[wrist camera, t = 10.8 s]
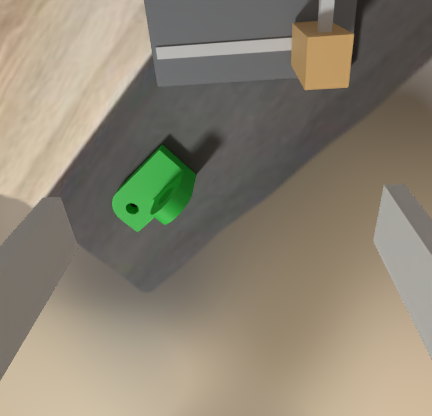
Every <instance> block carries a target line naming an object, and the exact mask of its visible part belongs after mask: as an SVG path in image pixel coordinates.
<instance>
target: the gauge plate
mask: <svg viewBox="0 0 432 416" xmlns="http://www.w3.org/2000/svg"><path fill="white" fill-rule="evenodd" d="M144 3H145V10H146V16H147V22H148V29H149V35H150V42H151V48H152V54H153V61H154V67H155V73H156V80H157V86H158V87H161V86H177V85H193V84H208V83H224V82H240V81H256V80H271V79H287V78H298V77H297V75H296V73H295V71H294V69H293V68H292V66H291V50H292V23H297V22H310V21H318V13H319V0H144ZM356 8H357V0H335V2H334V14H333V23H334V24H336V25H338V26H340V27H342V28H344V29H346V30H348V31H349V32H351V33H353V34H354V26H355V17H356Z"/></svg>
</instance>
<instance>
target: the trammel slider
mask: <svg viewBox="0 0 432 416" xmlns="http://www.w3.org/2000/svg"><path fill="white" fill-rule="evenodd" d="M334 2H335V0H319V13H318V21H310V22H297V23H292V50H291V66H292V68H293V69H294V71H295V73H296V75H297V77H298V78H299V80H300V82H301V84H302V86H303V88H304V89H305V90H313V89H330V88H346V87H348V85H349V76H350V67H351V58H352V49H353V41H354V34H353V33H351V32H349V31H348V30H346V29H344V28H342V27H340V26H338V25H336V24H334V23H333V14H334Z"/></svg>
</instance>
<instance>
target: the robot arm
mask: <svg viewBox="0 0 432 416" xmlns="http://www.w3.org/2000/svg"><path fill="white" fill-rule="evenodd" d="M373 242H374V244H375V246H376V248H377V250H378V252H379V254H380V256H381V258H382V260H383V262H384V264H385V266H386V268H387V270H388V272H389V274H390V276H391V278H392V280H393V282H394V284H395V286H396V288H397V290H398V292H399V294H400V296H401V298H402V301H403V302H404V304H405V307H406V309H407V311H408V313H409V315H410V317H411V319H412V321H413V323H414V325H415V327H416V329H417V331H418V333H419V335H420V337H421V339H422V341H423V343H424V345H425V347H426V349H427V351H428V353H429V355H430V357H431V359H432V219H431V218H430V216H429V215H428V214H427V212H426V211H425V210H424V209H423V207H422V206H421V205H420V204H419V202H418V201H417V200H416V198H415V197H414V196H413V195H412V193H411V192H410V191H409V189H408V188H407V187H406V186H405V184H396V185H384V189H383V194H382V198H381V204H380V209H379V215H378V219H377V224H376V230H375V235H374V241H373ZM77 250H78V246H77V243H76V240H75V237H74V234H73V232H72V229H71V226H70V223H69V220H68V217H67V214H66V212H65V209H64V206H63V203H62V200H61V197H48V198H42V199H41V201H40V202H39V203H38V204H37V205H36V206H35V207H34V208H33V210H32V211H31V212H30V213H29V214H28V215H27V217H26V218H25V219H24V220H23V221H22V222H21V223H20V224H19V225H18V227H17V228H16V229H15V230H14V231H13V233H11V235H10V236H9V237H8V238H7V239H6V240H5V242H3V244H2V245H1V246H0V380H1V379H2V377H3V375H4V374H5V372H6V370H7V369H8V367H9V365H10V363H11V362H12V360H13V358H14V357H15V355H16V353H17V352H18V350H19V348H20V347H21V345H22V343H23V341H24V340H25V338H26V336H27V335H28V333H29V331H30V330H31V328H32V326H33V324H34V323H35V321H36V319H37V318H38V316H39V314H40V313H41V311H42V309H43V308H44V306H45V304H46V303H47V301H48V299H49V297H50V296H51V294H52V292H53V291H54V289H55V287H56V286H57V284H58V282H59V280H60V279H61V277H62V275H63V274H64V272H65V270H66V269H67V267H68V265H69V264H70V262H71V260H72V258H73V257H74V255H75V253H76V252H77Z"/></svg>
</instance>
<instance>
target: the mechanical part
mask: <svg viewBox="0 0 432 416" xmlns="http://www.w3.org/2000/svg"><path fill="white" fill-rule="evenodd" d="M195 178H196V174H195V173H194V172H193V171H192V170H191V169H189V168H188V167H187V166H186V165H185V164H184V163H183V162H182V161H180V160H179V159H178V158H177V157H176V156H175V155H174V154H173V153H171V152H170V151H169V150H168V149H167V148H166V147H165V146H164V145H161V146H160V147H159V148H158V149H157V150H156V151H155V152H154V153H153V154H152V155H151V156H150V157H149V158H148V159H147V160H146V161H145V162H144V163H143V164H142V165H141V166H140V167H139V168H138V169H137V170H136V171H135V172H134V173H133V174H132V175H131V176H130V177H129V178H128V179H127V180H126V181H125V182H124V183H123V184H122V185H121V186H120V187H119V189H118V190H117V192H116V194H115V195H114V197H113V200H112V207H113V210H114V212H115V214H116V215H117V216H118V217H119V218H120V219H121V220H122V221H123V222H125V223H126V224H127V225H129V226H130V227H131V228H133V229H134V230H135V231H137V232H139V231H140V230H141V229H142V228H143V227H144V226H145V225H146V224H148V223H149V222H150V221H151V220H152V219H153V218H154V217H155V218H156V219H158V220H159V221H160V222H161V223H163V224H168V223H170V222H171V221H173V220H174V219H175V218H176V217H177V216H178V215H179V214H180V213H181V212H182V210H183V209H184V208H185V206H186V205H187V204H188V202H189V200H190V198H191V196H192V192H193V188H194V183H195ZM130 203H133V204H135V205H137V206H138V207H133V206H131V205H130Z"/></svg>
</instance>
